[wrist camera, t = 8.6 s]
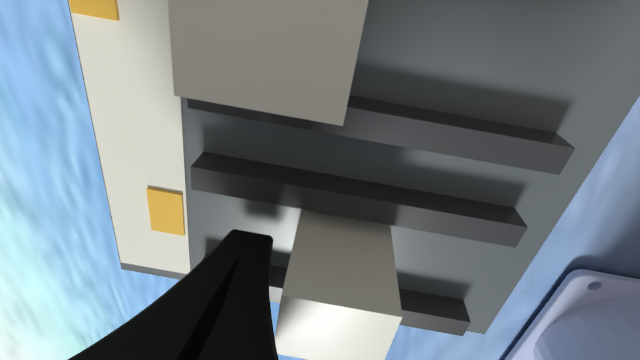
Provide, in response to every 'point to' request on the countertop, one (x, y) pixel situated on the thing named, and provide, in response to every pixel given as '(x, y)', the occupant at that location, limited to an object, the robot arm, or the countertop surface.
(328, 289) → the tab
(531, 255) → the switch panel
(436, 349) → the countertop surface
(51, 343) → the countertop surface
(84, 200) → the countertop surface
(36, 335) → the countertop surface
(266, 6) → the tab middle
